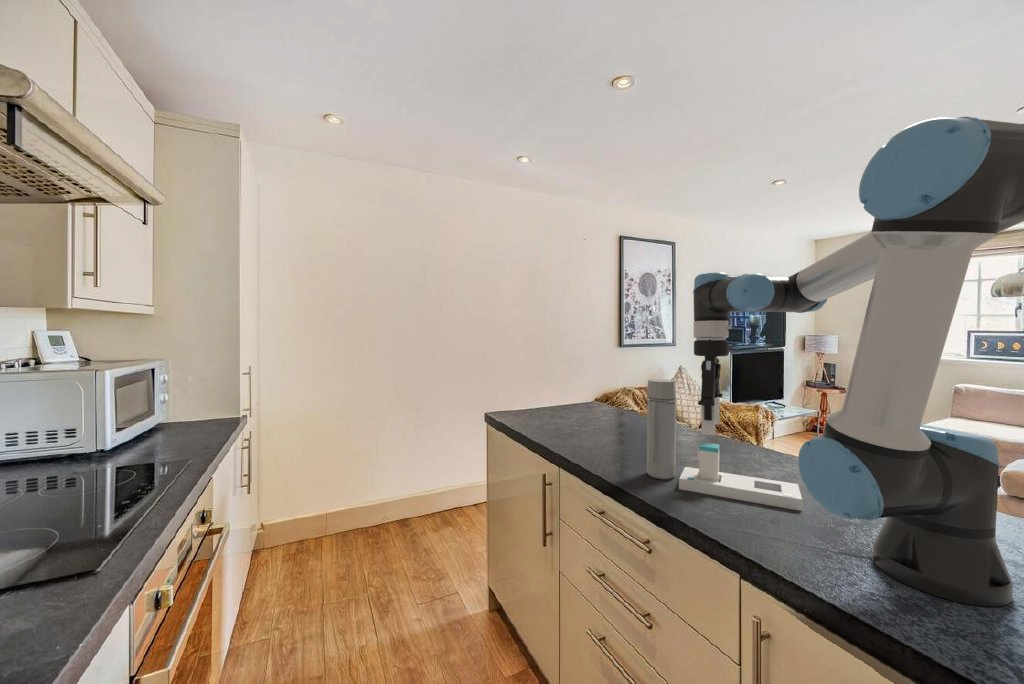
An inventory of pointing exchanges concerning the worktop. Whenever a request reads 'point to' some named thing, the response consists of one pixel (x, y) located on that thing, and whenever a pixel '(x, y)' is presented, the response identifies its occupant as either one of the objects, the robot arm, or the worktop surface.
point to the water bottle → (661, 428)
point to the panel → (744, 488)
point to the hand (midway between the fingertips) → (711, 428)
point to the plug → (708, 461)
